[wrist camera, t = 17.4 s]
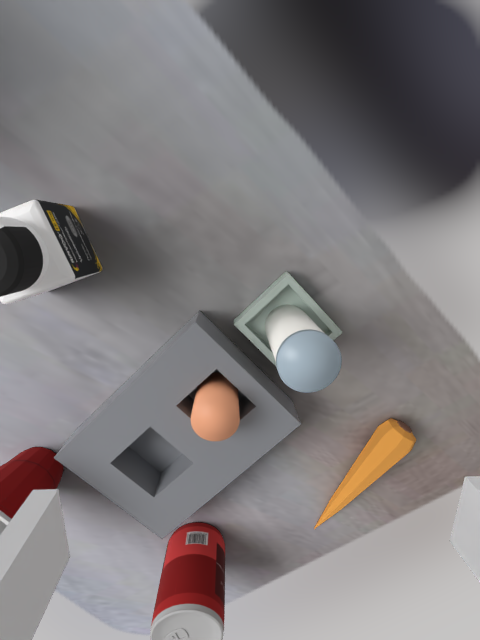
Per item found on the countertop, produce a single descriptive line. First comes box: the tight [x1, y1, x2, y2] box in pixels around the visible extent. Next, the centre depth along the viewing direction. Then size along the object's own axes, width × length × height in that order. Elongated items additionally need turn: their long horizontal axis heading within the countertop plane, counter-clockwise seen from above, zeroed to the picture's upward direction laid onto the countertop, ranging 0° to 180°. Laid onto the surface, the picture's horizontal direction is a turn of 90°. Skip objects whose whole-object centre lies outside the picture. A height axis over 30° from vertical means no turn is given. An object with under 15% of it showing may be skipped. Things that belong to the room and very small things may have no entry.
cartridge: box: [265, 304, 342, 393], centre depth 31 cm, size 5×5×11 cm
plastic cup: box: [0, 447, 64, 535], centre depth 36 cm, size 11×11×12 cm
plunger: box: [191, 372, 240, 441], centre depth 35 cm, size 5×5×6 cm
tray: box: [234, 272, 343, 367], centre depth 37 cm, size 9×8×2 cm
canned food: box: [150, 522, 225, 640], centre depth 40 cm, size 8×8×11 cm
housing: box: [54, 311, 301, 539], centre depth 38 cm, size 16×22×5 cm
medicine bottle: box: [0, 200, 102, 304], centre depth 29 cm, size 7×7×12 cm
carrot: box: [314, 418, 416, 529], centre depth 42 cm, size 20×4×4 cm, turn 151°
